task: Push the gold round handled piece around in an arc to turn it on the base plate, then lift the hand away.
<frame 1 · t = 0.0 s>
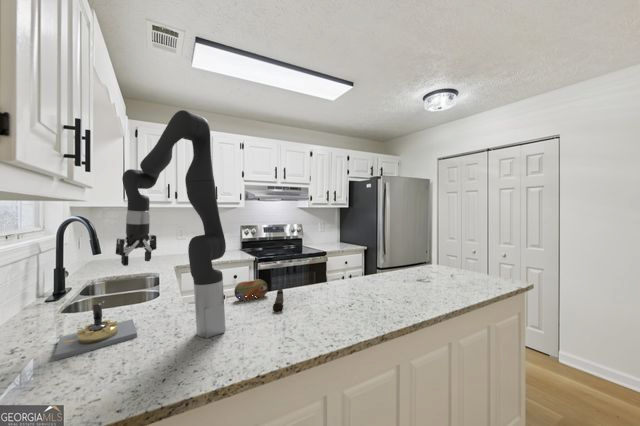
hand: (136, 263, 106), 22 cm above the counter, tool pointing down, fingers open, 8 cm apart
base plate: (98, 339, 91), on the counter
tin: (251, 298, 126), on the counter
hand tool: (278, 304, 116), on the counter
gold round handled piece: (97, 321, 91), point 6 cm above the counter, hinge at 0.0°
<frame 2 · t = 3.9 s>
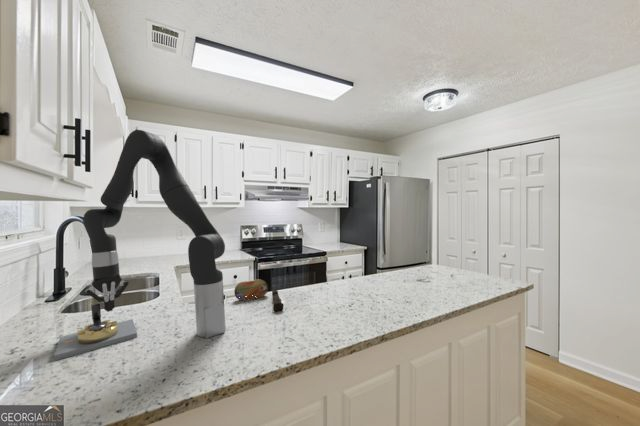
hand: (109, 310, 99), 7 cm above the counter, tool pointing down, fingers closed
hand tool: (275, 305, 116), on the counter
gold round handled piece: (97, 321, 91), point 6 cm above the counter, hinge at 2.4°, touching gripper
everything else where it was.
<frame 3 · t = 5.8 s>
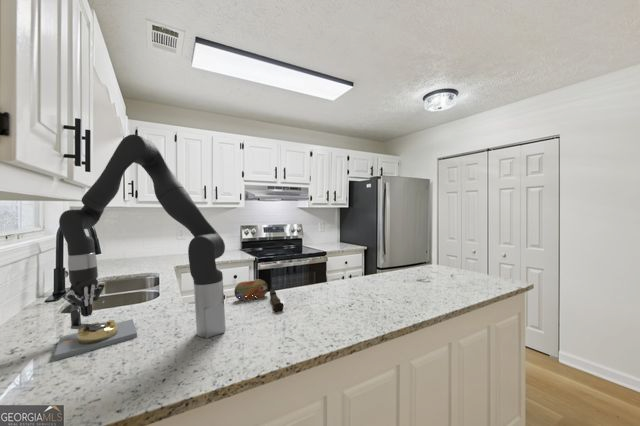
hand: (87, 315, 95), 7 cm above the counter, tool pointing down, fingers closed
gold round handled piece: (91, 323, 90), point 6 cm above the counter, hinge at 39.1°, touching gripper
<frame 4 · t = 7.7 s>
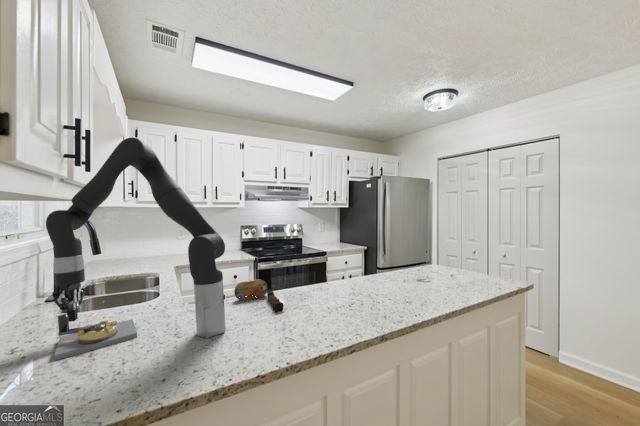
hand: (72, 320, 91), 7 cm above the counter, tool pointing down, fingers closed
gold round handled piece: (88, 324, 88), point 6 cm above the counter, hinge at 68.3°
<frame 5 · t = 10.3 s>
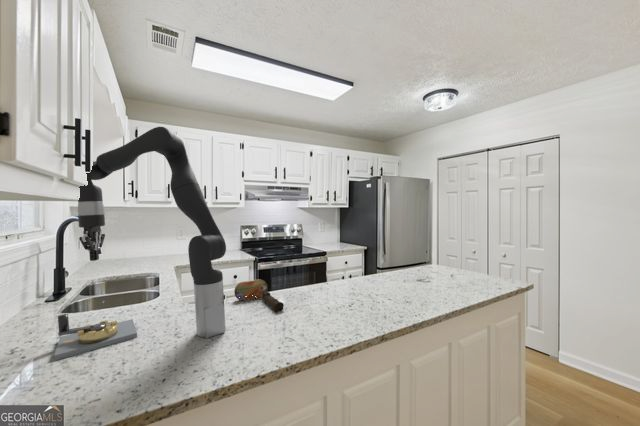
hand: (94, 260, 101), 25 cm above the counter, tool pointing down, fingers closed
hand tool: (270, 306, 115), on the counter
everything else where it was.
at the end: gold round handled piece at +68° (first picture: +0°); hand tool moved 3.8 cm from its start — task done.
